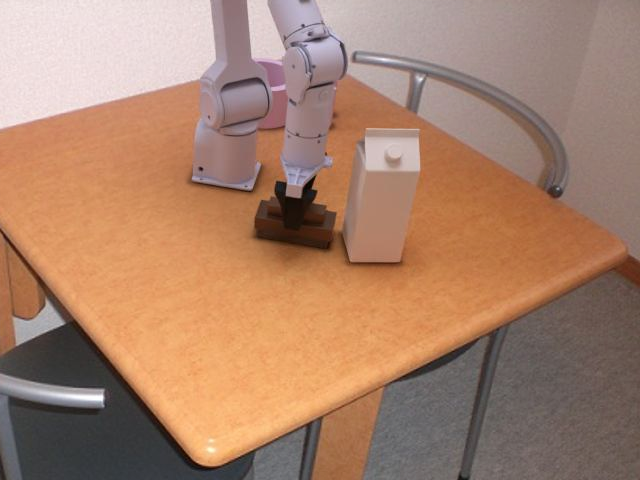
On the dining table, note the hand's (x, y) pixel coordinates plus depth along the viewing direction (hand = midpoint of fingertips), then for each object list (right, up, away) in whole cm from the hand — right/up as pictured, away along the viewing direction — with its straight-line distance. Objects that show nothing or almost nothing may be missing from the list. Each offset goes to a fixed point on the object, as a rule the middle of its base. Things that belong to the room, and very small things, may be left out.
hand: (296, 213), depth 124 cm
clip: (-2, +20, +30) cm, 36 cm away
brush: (0, -3, +2) cm, 4 cm away
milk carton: (+10, -5, +1) cm, 12 cm away
